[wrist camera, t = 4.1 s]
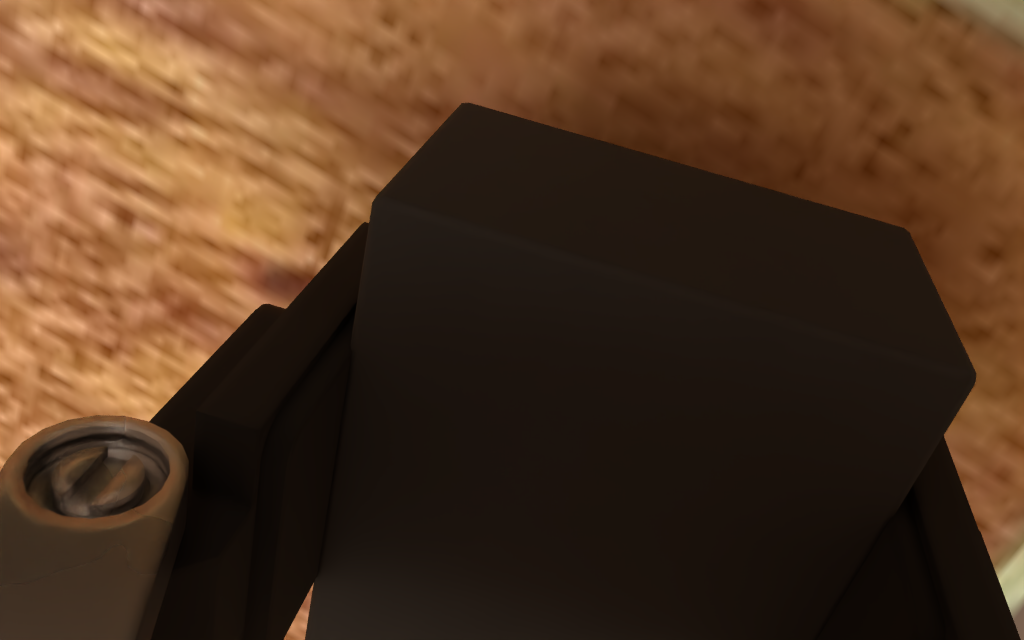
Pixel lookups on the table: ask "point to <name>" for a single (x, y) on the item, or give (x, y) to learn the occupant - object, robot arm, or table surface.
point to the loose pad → (620, 399)
